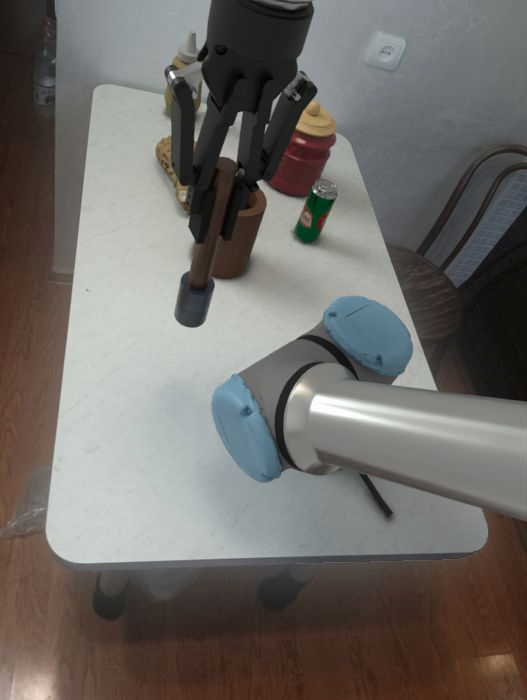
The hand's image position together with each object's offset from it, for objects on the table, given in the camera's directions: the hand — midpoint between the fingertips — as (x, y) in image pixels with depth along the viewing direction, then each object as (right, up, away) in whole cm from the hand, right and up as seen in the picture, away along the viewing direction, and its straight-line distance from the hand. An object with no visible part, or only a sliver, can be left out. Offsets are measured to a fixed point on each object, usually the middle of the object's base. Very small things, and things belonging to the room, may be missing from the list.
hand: (209, 233), depth 57 cm
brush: (-4, -8, +10) cm, 13 cm away
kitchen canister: (+11, +25, +61) cm, 67 cm away
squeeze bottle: (-13, +41, +65) cm, 78 cm away
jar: (-2, +4, +40) cm, 41 cm away
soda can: (+14, +10, +51) cm, 54 cm away
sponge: (-9, +20, +51) cm, 55 cm away
